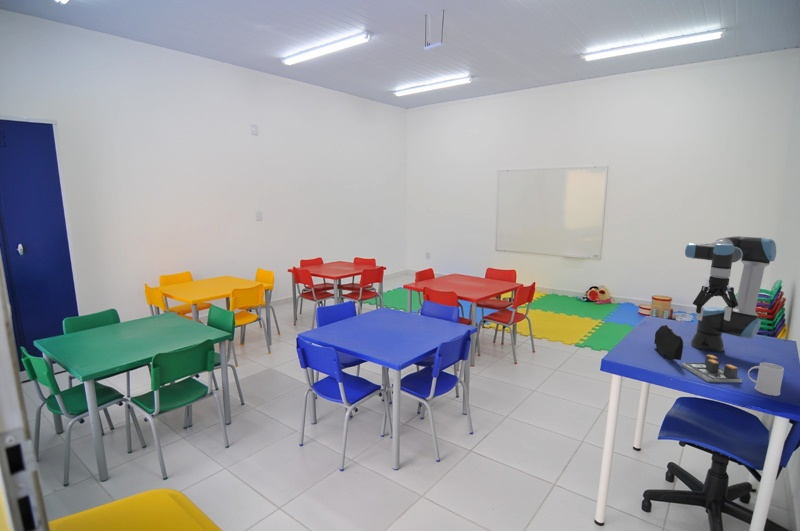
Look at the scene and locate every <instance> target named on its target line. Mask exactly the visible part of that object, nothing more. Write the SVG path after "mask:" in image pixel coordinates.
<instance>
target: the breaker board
mask: <svg viewBox="0 0 800 531" xmlns="http://www.w3.org/2000/svg"><path fill="white" fill-rule="evenodd" d="M681 367H682V368H683V369H686V370H687V371H689V372H691V373H692V374H694V375H696V376H697V377H699V378H700V379H702V380H704V381H705V382H707V383H743V379H742V378H741V377H739V376H737V378H729V377H727V376H726V375H724V368H722V367H720V366H719V370H718V372H710V371H709V370H707V369H706V364H705V362H684V363H683V362H682V363H681Z"/></svg>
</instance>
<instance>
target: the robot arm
mask: <svg viewBox="0 0 800 531" xmlns="http://www.w3.org/2000/svg"><path fill="white" fill-rule="evenodd" d="M684 254H685V257H686V258H690V259H697V260H704V261H711V266H710V270H709V275H710V276H709V279H708V285H709V286H705V285H702V286H701V289H700V291H699V293H698V294H697V295H696V297H695V299H694V300H693V302H692V305H693V306H696V308H695V313H696V318H695V319H696V320H697V326H696V332H695V334H694V336H693V337H692V339H691V341H690V345H691V346H692V347H694V348H697V349H698V350H702V351H707V352H717V353H718V352H719V353H720V352H723V351H724V349H725V348H724V347H725V345H724V341H723V337H722V335H723V334H727V335H730V336H735V337H739V338H740V339H741V338H743V339H747V340H748V339H749V340H751V339H753V338H755V336H756V335H757V334H758V331H760V327H761V324H762V320H761V319H760V318H758V317H759V314H758V313H757V312H756V309H757V304H758V300H759V294H760V291H761V286H762V283H763V282H762V281H763V278H764V272H765V268H766V267H767V266H770V263H771V262H774V261H776V260H775V259H776V257H777V244H776V242H775V240H774V239H771V238H765V237H755V236H754V237H751V236H738V235H737V236H735V235H734V236H727V237H722V238H718V239H716V240H715V241H710V242H705V243H696V242H695V243H688V244H686V246H685V251H684ZM738 261H740V262H741V263H742V264H743V267H742V273H741V276H740V282H739V285H738V292H737V294H736V295H735V288H734V287H733V286H730V285H729V284H730V277H731V273H732V272H731V271H732V265H733V263H736V262H738ZM713 297H721V298H722V300H723V301H724V302H725V304H726V306H725V308H722V307H715V306H714V307H713V306H711V307H709V306H707V307H706V306H705V305H706V303H708V301H709V300H710V299H712V298H713ZM703 306H705V307H703Z"/></svg>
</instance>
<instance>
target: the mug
mask: <svg viewBox="0 0 800 531" xmlns="http://www.w3.org/2000/svg"><path fill="white" fill-rule="evenodd" d="M754 369H758V372H757V378H756V380H755V379H753V378H752V377H751V376H750V371H752V370H754ZM784 373H785V368H784V367H783V366H781V365H779V364H776V363H771V362H762V361H761V362H760V363H759V365H755V366H751V367H750V368H749V369H748V371H747V378H749V380H750V381H751V382H753V383H755V386H754V390H756V391H757V392H759V393H761V394H764V395H768V396H772V395H773V396H774V397H775V396H776V397H777V396H780V395H781V387H782V382H783V377H784Z"/></svg>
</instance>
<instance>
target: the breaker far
mask: <svg viewBox="0 0 800 531" xmlns="http://www.w3.org/2000/svg"><path fill="white" fill-rule="evenodd" d="M704 359H705V360H704V363H705V364H707V360H708V359H710V360H715V361H717V362H719V359H718V357H717V356H715V355H714V354H706V355H705V358H704Z"/></svg>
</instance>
